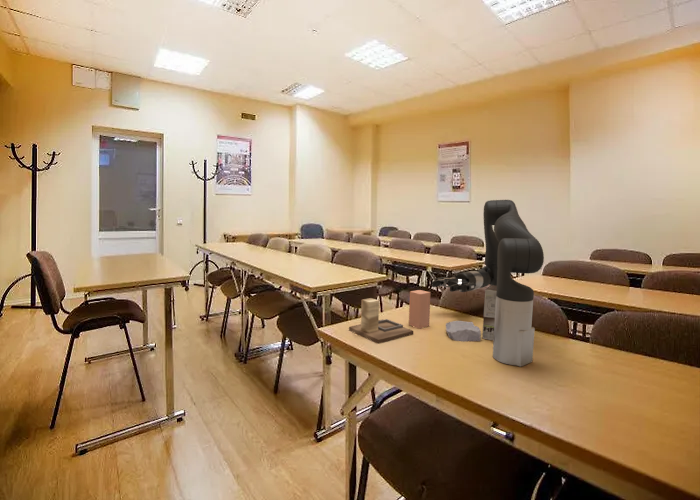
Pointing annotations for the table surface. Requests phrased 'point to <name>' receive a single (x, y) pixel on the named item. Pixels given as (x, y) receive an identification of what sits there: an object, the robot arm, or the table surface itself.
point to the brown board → (382, 333)
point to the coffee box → (489, 312)
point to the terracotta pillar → (419, 308)
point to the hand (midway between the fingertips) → (441, 286)
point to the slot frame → (390, 327)
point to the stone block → (463, 331)
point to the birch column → (369, 315)
